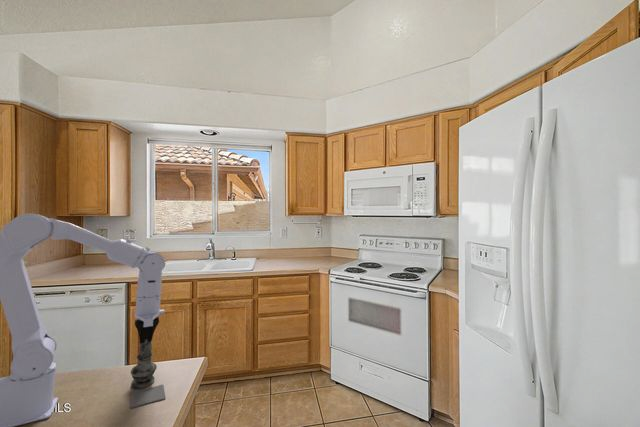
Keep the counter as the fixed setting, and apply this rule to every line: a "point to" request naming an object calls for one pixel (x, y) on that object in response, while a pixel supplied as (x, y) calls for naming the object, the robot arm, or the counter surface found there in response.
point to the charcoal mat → (147, 396)
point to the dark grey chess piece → (143, 367)
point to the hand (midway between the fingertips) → (145, 346)
